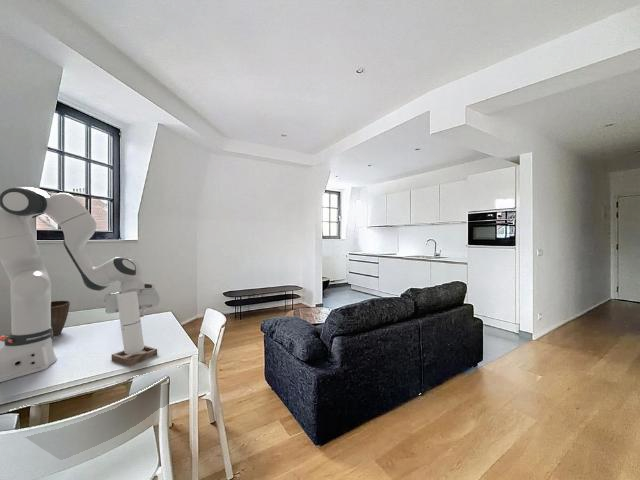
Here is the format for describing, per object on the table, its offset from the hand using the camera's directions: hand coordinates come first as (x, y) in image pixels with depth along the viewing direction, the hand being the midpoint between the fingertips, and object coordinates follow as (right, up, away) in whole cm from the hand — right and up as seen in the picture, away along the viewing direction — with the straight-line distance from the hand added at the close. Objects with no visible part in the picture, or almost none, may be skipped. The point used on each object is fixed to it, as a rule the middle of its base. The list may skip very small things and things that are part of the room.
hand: (135, 317), depth 120 cm
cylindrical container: (-1, -15, +1) cm, 15 cm away
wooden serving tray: (-1, -18, +1) cm, 18 cm away
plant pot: (-61, -16, +25) cm, 68 cm away
